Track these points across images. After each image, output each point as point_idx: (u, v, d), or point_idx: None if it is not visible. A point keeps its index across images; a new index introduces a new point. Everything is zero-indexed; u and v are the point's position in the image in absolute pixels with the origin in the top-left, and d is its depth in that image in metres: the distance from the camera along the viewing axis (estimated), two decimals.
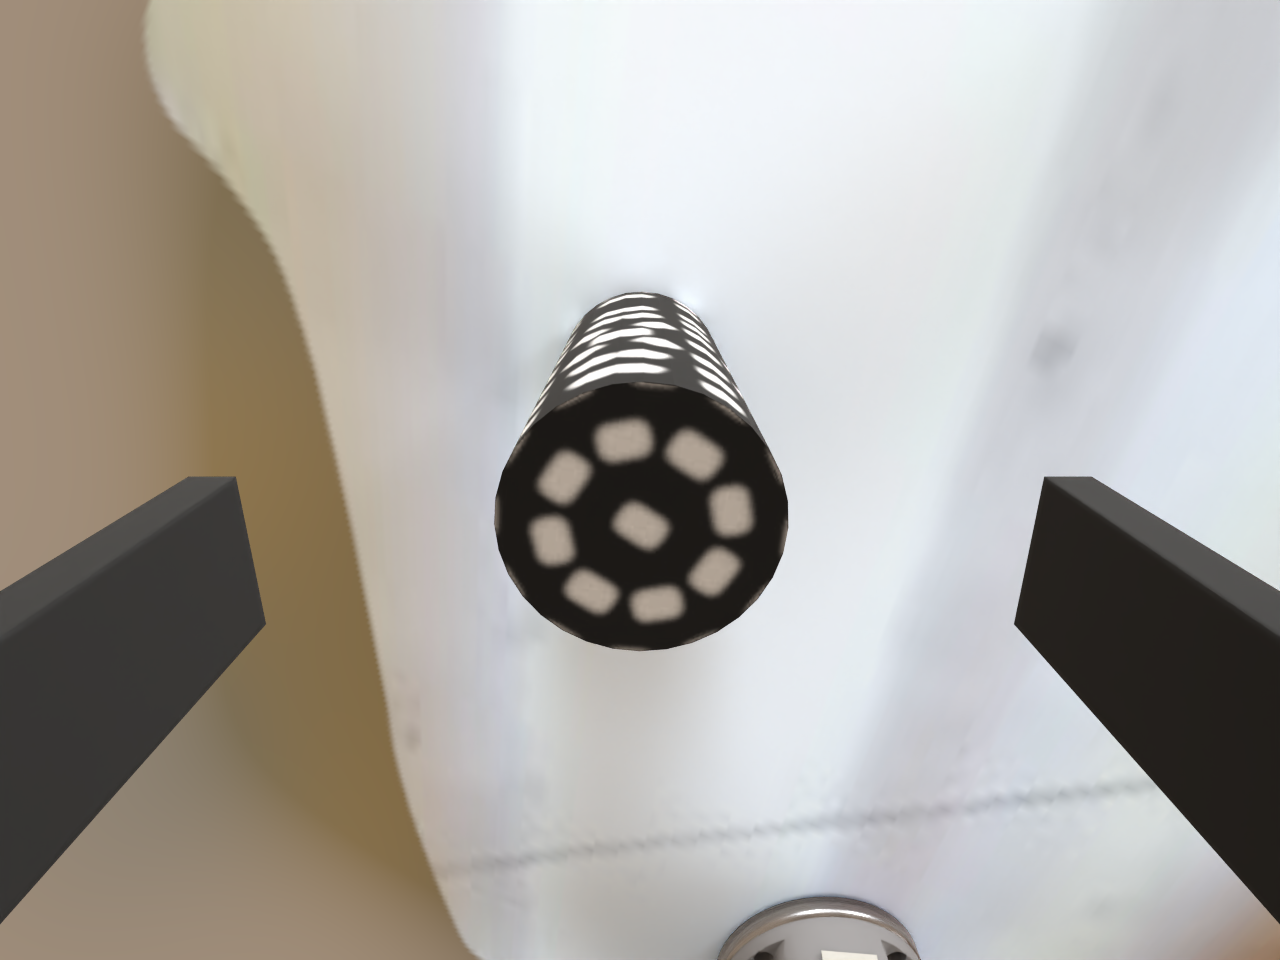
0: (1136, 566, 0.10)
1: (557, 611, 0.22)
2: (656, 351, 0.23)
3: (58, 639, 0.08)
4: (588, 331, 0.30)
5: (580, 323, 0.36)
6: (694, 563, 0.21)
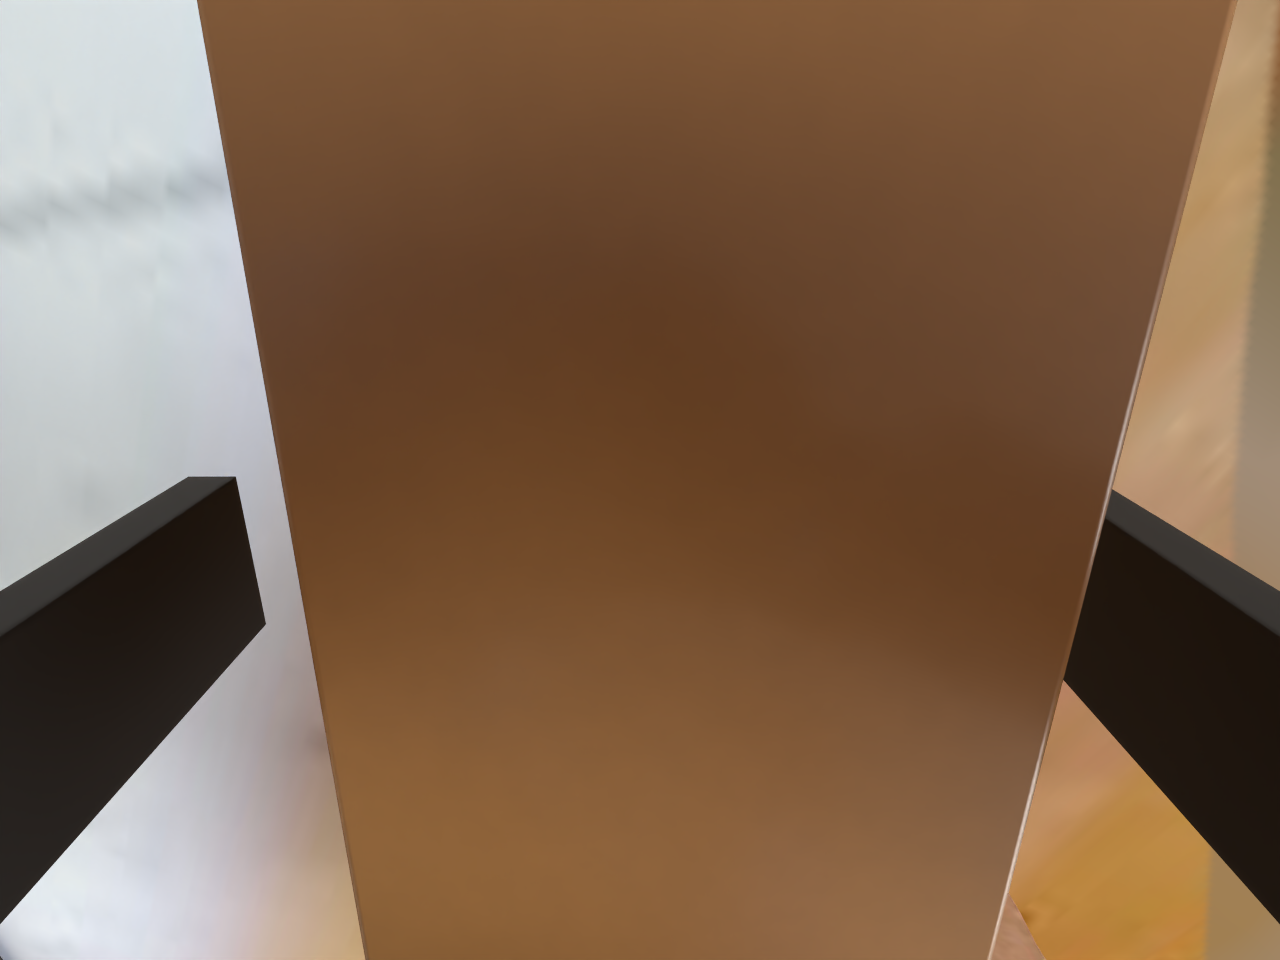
0: (1136, 566, 0.10)
1: None
2: None
3: (57, 640, 0.08)
4: None
5: None
6: None
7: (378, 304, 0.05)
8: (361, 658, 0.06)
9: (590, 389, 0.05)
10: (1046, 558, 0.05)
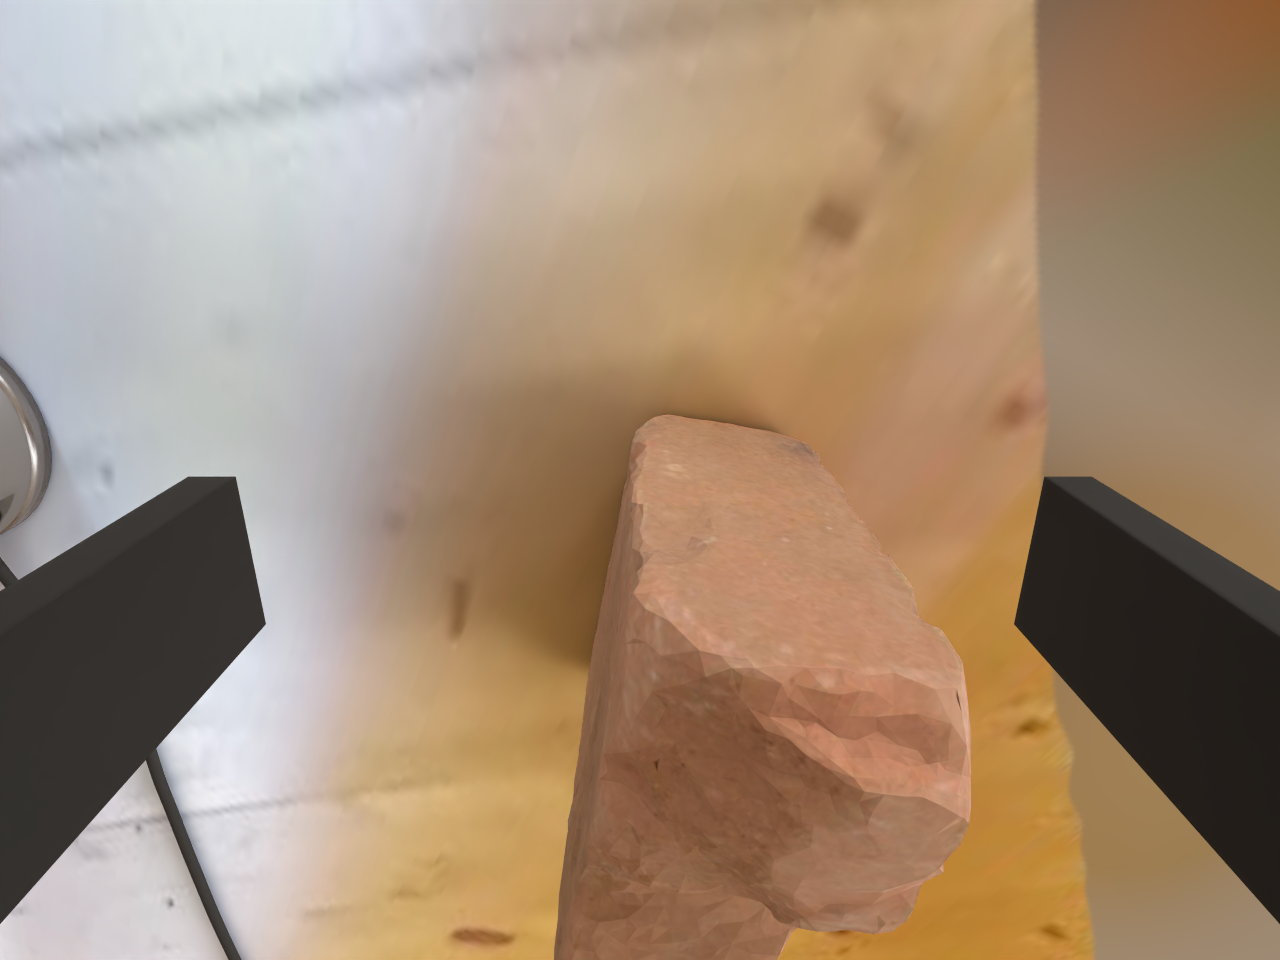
0: (1136, 566, 0.10)
1: None
2: None
3: (57, 640, 0.08)
4: None
5: None
6: None
7: None
8: None
9: None
10: None
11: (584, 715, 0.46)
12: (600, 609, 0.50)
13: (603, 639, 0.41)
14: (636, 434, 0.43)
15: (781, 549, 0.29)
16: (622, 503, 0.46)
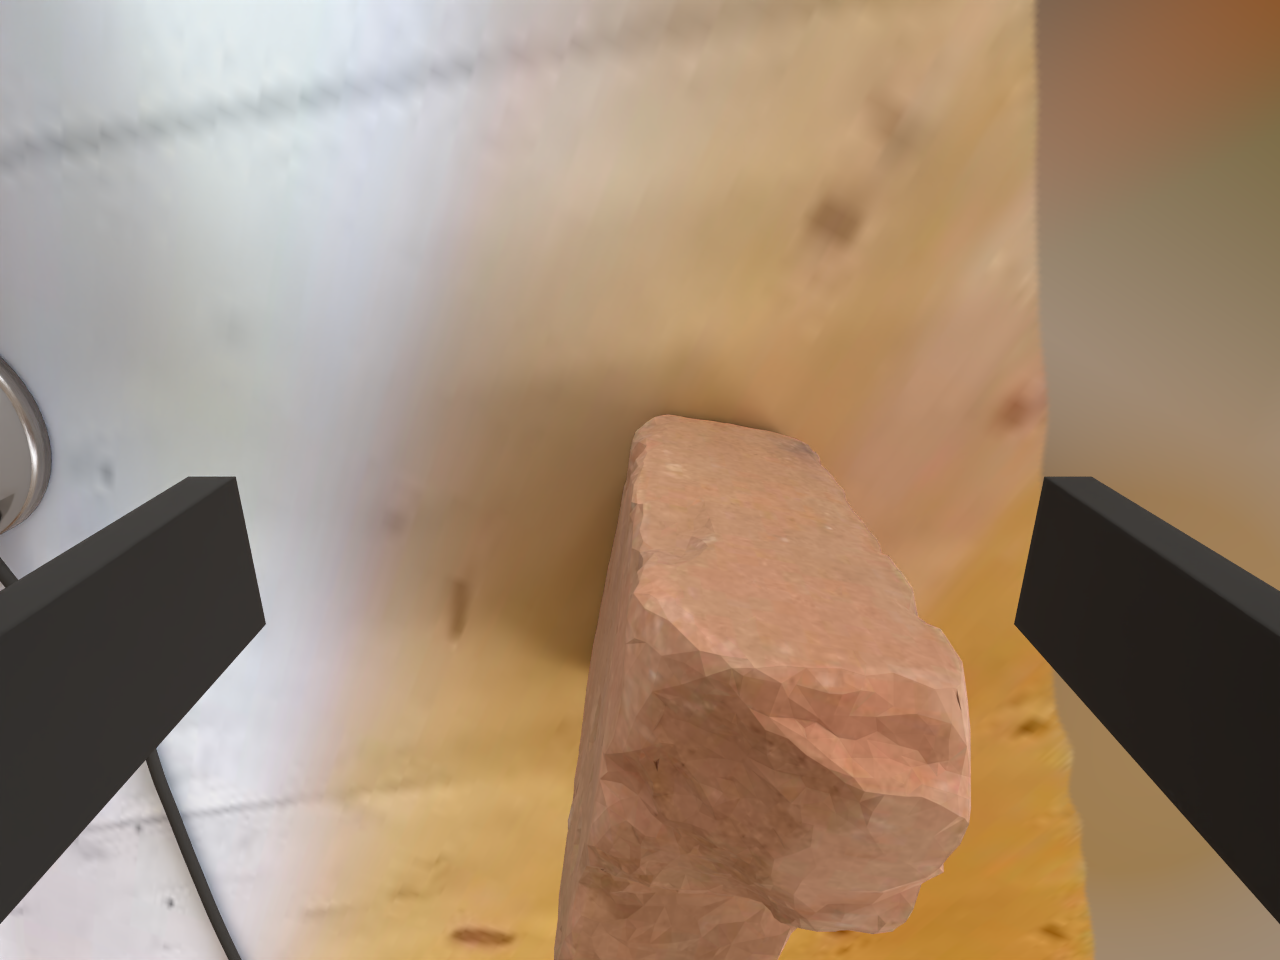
0: (1136, 566, 0.10)
1: None
2: None
3: (57, 640, 0.08)
4: None
5: None
6: None
7: None
8: None
9: None
10: None
11: (584, 715, 0.46)
12: (600, 609, 0.50)
13: (603, 639, 0.41)
14: (636, 434, 0.43)
15: (781, 549, 0.29)
16: (622, 503, 0.46)
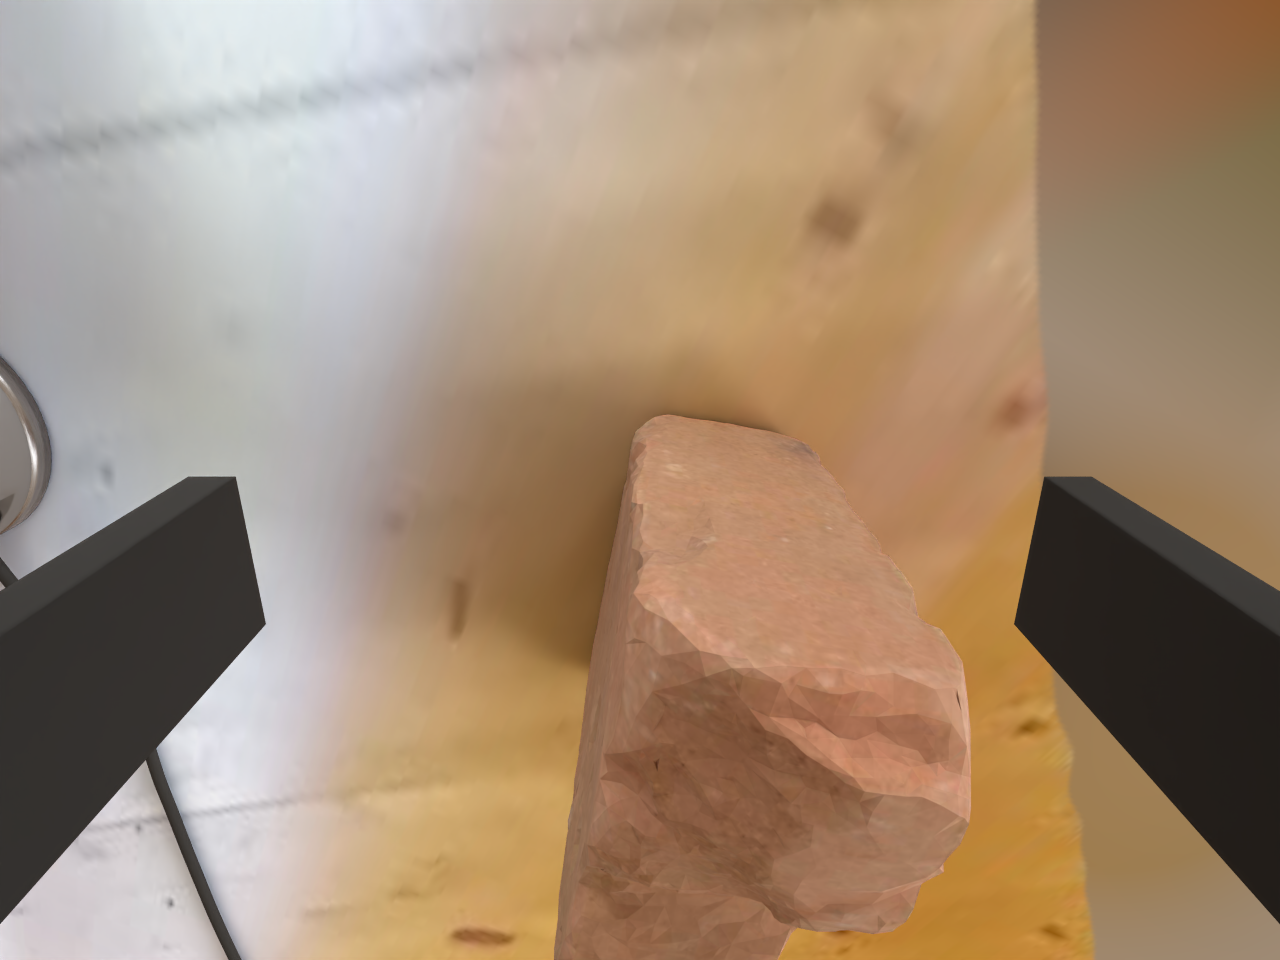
0: (1136, 566, 0.10)
1: None
2: None
3: (57, 640, 0.08)
4: None
5: None
6: None
7: None
8: None
9: None
10: None
11: (584, 715, 0.46)
12: (600, 609, 0.50)
13: (603, 639, 0.41)
14: (636, 434, 0.43)
15: (781, 549, 0.29)
16: (622, 503, 0.46)
